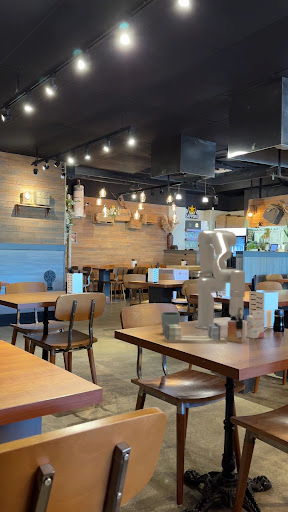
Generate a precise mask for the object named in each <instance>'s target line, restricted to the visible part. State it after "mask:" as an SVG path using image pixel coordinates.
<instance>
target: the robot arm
mask: <svg viewBox="0 0 288 512" xmlns="http://www.w3.org/2000/svg"><path fill="white" fill-rule="evenodd" d="M237 241H238V239H237V236H236V234H235V233H234V232H233V231H229V230H222V229H204V230H200V232H199V233H198V235H197V244H198V246H199V247H198V248H199V270H200V272H201V273H202V274H205V275H202V276H199V277H198V278H197V279H196V285H197V295H198V296H197V297H198V298H197V323H196V324H195V326H194V327H195V328H197V329H200V330H208V325H214V313H215V309H214V308H215V300H214V299H215V298H214V296H213V294H212V293H211V292H213V293H214V292H223V291H224V290H225V289H226V284H229V297H230V298H229V307H228V308H229V309H228V312H229V313H228V314H229V315H230V320H235V321H236V329H243V321H244V313H245V311H244V310H245V309H244V305H245V304H244V303H245V301H244V298H245V290H246V288H245V287H246V286H245V285H246V284H245V283H246V272H245V271H244V270H242V269H241V270H240V269H237V268H227V264H226V262H225V261H227V260H228V259H230V258H231V257H232V253H233V252H232V250H231V248H232V247H235V246H236V245H237ZM215 256H216V257H215ZM207 274H209V275H207ZM210 274H211V275H210ZM212 274H213V275H212Z"/></svg>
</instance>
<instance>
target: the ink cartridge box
mask: <svg viewBox="0 0 288 512" xmlns="http://www.w3.org/2000/svg"><path fill="white" fill-rule="evenodd" d="M264 337H265V311H264V310H254V311H252V315H246V338H249V339H259V338H260V339H261V338H264Z"/></svg>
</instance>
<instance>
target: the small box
mask: <svg viewBox="0 0 288 512" xmlns="http://www.w3.org/2000/svg"><path fill="white" fill-rule="evenodd" d="M226 332H227V336H226V340H227V342H232V343H239V344H243V343H244V342H245V340H246V339H245V338H246V321H244V320H243V329H236V321H235V320H231V319H230V320H228V321H227V331H226Z"/></svg>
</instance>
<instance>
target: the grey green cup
mask: <svg viewBox="0 0 288 512" xmlns="http://www.w3.org/2000/svg"><path fill="white" fill-rule="evenodd" d="M180 314H181V313H180V312H176V311H175V312H174V311H165V312H161V314H160V316H161V317H160V318H161V322H162V323H161V328H162V329H161V330H162V336H165V323H168V325H179V326H180V317H181V315H180Z"/></svg>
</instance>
